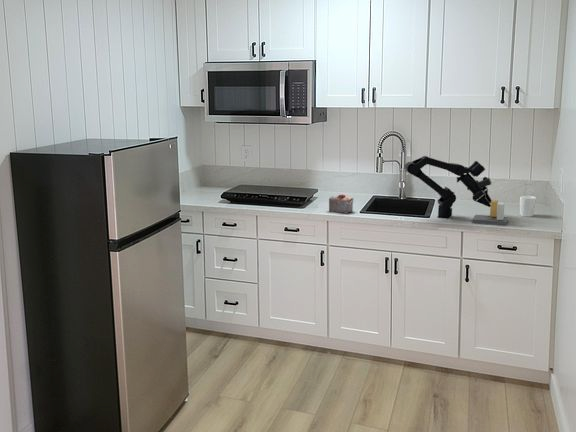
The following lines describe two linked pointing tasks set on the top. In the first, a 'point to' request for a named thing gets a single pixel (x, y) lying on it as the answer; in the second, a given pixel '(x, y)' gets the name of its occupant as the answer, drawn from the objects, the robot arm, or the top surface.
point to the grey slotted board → (489, 220)
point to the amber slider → (493, 208)
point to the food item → (340, 203)
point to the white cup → (527, 205)
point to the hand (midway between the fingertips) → (491, 204)
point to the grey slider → (500, 211)
